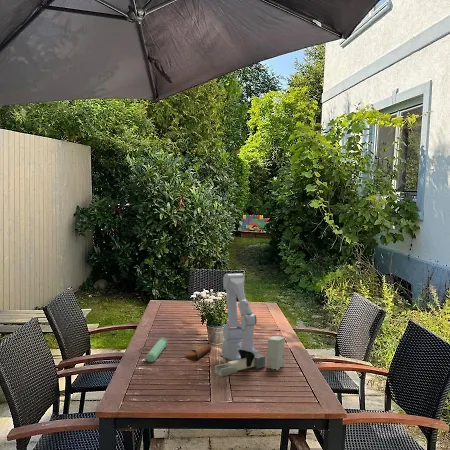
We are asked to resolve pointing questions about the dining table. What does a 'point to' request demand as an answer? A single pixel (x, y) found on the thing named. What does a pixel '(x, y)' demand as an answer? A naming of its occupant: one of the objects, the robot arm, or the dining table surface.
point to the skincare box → (275, 352)
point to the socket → (259, 361)
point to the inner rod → (241, 363)
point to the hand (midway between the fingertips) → (246, 365)
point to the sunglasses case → (198, 352)
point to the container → (156, 350)
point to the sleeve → (225, 369)
